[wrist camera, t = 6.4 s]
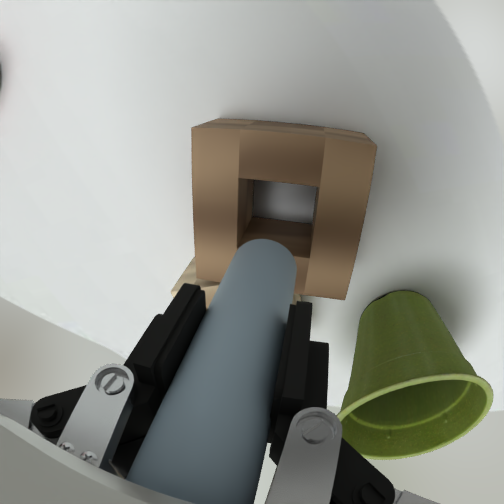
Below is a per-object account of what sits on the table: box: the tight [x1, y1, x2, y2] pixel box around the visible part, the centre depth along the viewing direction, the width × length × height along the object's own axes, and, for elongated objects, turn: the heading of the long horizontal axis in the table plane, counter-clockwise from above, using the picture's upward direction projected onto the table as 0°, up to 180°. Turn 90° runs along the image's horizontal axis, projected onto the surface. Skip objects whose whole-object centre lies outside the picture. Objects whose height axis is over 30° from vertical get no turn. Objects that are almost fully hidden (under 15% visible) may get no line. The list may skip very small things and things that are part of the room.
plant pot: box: [336, 291, 493, 460], centre depth 21 cm, size 12×12×11 cm
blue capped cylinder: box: [125, 239, 297, 504], centre depth 9 cm, size 3×3×14 cm
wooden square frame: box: [191, 119, 377, 300], centre depth 20 cm, size 10×10×5 cm
